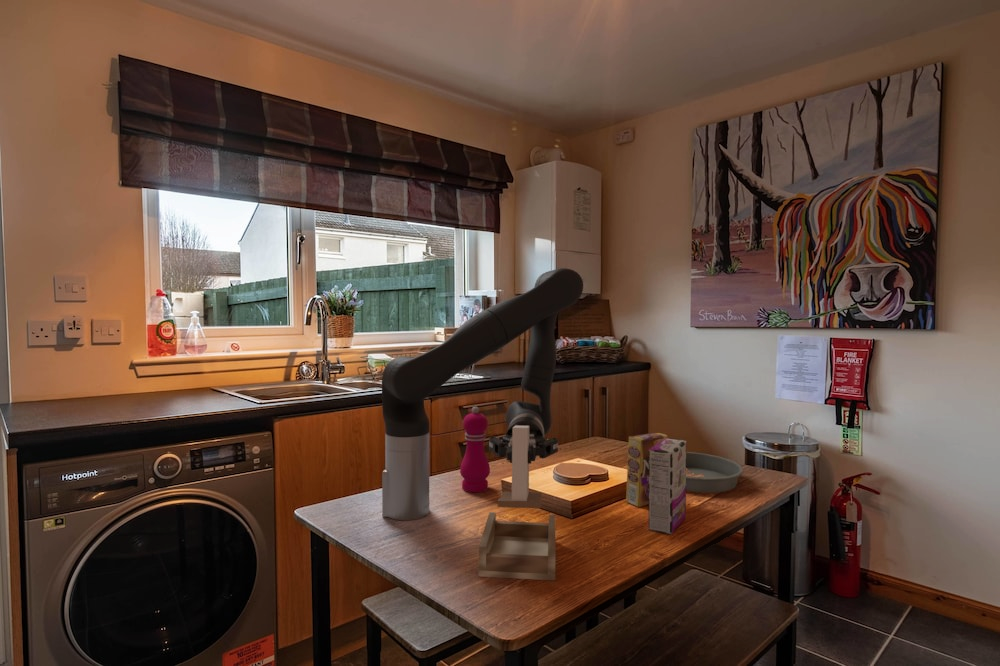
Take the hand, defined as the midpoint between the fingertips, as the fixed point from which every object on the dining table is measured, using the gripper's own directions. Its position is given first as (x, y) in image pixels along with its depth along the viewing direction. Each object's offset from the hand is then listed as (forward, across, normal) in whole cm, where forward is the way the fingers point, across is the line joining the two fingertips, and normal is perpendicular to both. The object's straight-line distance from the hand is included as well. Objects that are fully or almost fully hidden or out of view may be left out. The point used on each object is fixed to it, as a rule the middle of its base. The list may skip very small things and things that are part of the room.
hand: (520, 457), depth 97 cm
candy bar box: (-20, +29, +19) cm, 40 cm away
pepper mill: (-38, -13, +18) cm, 44 cm away
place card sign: (0, 0, +8) cm, 8 cm away
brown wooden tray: (-1, 0, +18) cm, 18 cm away
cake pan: (-51, +41, +19) cm, 69 cm away
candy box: (-33, +27, +19) cm, 46 cm away
